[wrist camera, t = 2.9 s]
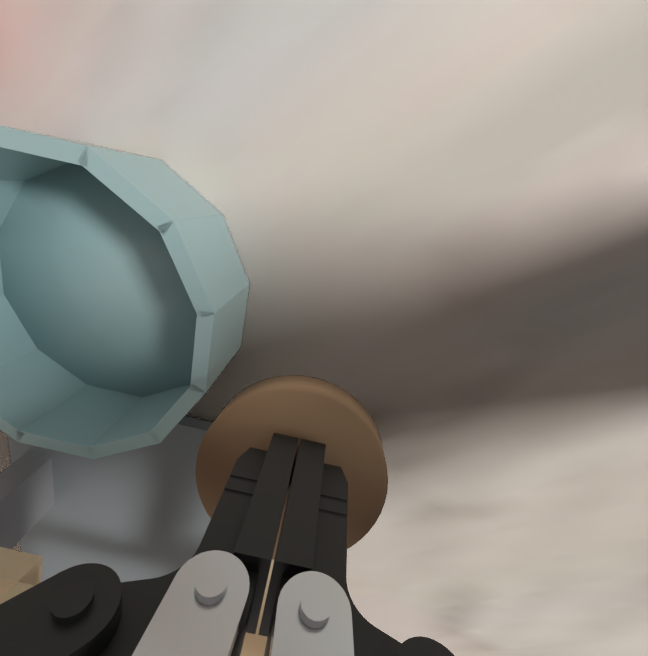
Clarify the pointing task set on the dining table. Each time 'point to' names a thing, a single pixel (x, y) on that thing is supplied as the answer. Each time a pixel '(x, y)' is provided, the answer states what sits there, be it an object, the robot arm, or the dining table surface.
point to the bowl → (108, 296)
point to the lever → (256, 431)
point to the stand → (107, 505)
